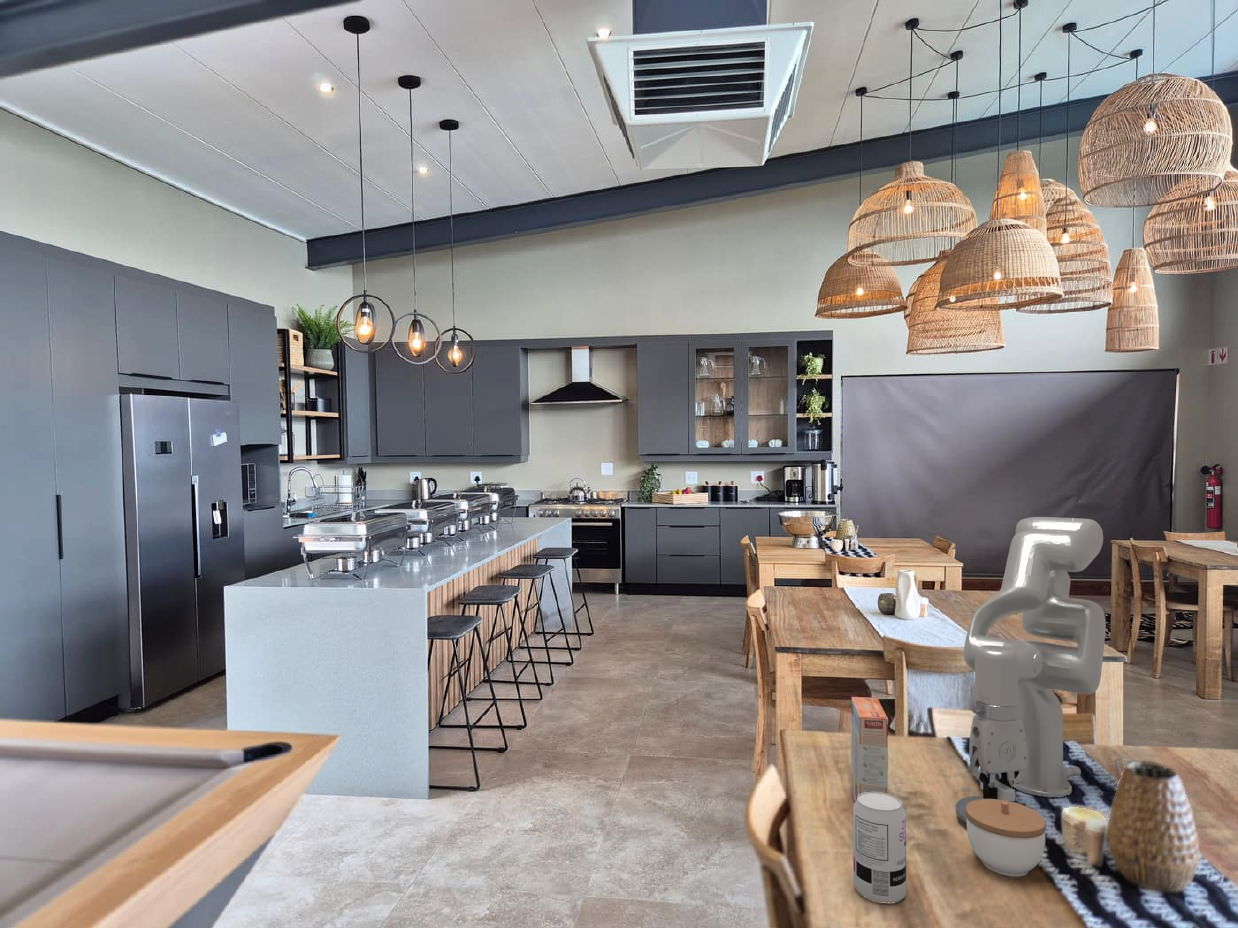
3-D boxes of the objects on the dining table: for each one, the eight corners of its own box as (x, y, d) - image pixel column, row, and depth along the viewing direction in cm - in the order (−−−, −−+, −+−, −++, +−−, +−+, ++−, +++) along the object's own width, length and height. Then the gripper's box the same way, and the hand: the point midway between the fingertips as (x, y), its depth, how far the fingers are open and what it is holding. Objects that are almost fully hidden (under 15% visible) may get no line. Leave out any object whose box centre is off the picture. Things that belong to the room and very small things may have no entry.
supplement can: (845, 879, 127) (845, 790, 127) (892, 877, 127) (892, 789, 128) (865, 907, 119) (865, 812, 119) (915, 904, 119) (915, 810, 120)
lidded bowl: (976, 840, 140) (976, 781, 140) (1053, 863, 132) (1052, 800, 132) (956, 868, 130) (956, 804, 130) (1038, 894, 122) (1037, 826, 122)
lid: (1060, 830, 141) (1059, 795, 141) (993, 840, 137) (992, 804, 137) (1001, 797, 156) (1001, 765, 156) (939, 805, 152) (939, 773, 152)
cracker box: (889, 824, 147) (889, 717, 147) (857, 821, 148) (857, 715, 148) (879, 794, 160) (879, 696, 161) (850, 792, 162) (849, 695, 162)
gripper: (975, 719, 141) (975, 817, 141) (1045, 712, 145) (1046, 807, 145) (948, 707, 148) (949, 800, 148) (1016, 701, 152) (1017, 791, 152)
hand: (997, 803), depth 146 cm, fingers closed on lid, 2 cm apart
